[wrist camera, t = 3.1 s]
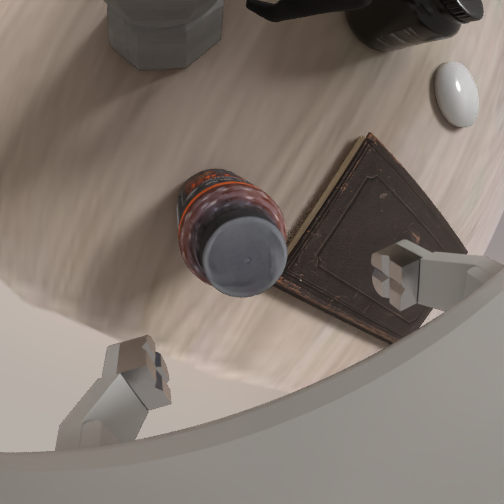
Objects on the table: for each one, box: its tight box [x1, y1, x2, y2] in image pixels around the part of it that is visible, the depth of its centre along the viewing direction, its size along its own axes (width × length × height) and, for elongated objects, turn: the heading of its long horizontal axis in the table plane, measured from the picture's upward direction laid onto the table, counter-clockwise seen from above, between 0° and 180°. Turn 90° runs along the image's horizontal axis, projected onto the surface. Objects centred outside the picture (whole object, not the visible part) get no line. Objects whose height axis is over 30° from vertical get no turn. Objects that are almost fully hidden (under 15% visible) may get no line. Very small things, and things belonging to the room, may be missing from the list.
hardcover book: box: [273, 132, 468, 345], centre depth 30 cm, size 16×23×2 cm
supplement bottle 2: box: [346, 0, 484, 51], centre depth 15 cm, size 7×7×12 cm
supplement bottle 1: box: [177, 169, 287, 297], centre depth 19 cm, size 6×6×11 cm
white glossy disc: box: [434, 62, 479, 127], centre depth 25 cm, size 8×8×1 cm
